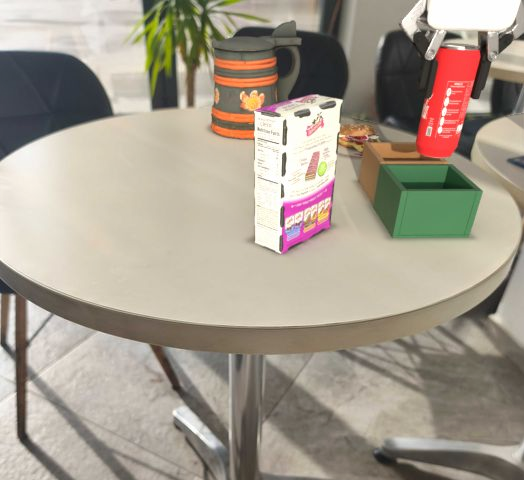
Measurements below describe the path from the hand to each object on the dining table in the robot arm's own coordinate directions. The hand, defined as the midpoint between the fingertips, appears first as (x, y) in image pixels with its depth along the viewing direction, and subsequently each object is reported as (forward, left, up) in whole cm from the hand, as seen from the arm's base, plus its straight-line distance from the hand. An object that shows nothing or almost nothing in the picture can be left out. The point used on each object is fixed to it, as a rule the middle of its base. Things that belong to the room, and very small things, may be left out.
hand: (447, 94), depth 60 cm
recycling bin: (0, 0, -17) cm, 17 cm away
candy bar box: (+18, +3, -17) cm, 25 cm away
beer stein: (+20, -50, -17) cm, 56 cm away
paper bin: (0, -11, -17) cm, 20 cm away
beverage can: (0, 0, -7) cm, 7 cm away
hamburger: (0, -36, -17) cm, 39 cm away
